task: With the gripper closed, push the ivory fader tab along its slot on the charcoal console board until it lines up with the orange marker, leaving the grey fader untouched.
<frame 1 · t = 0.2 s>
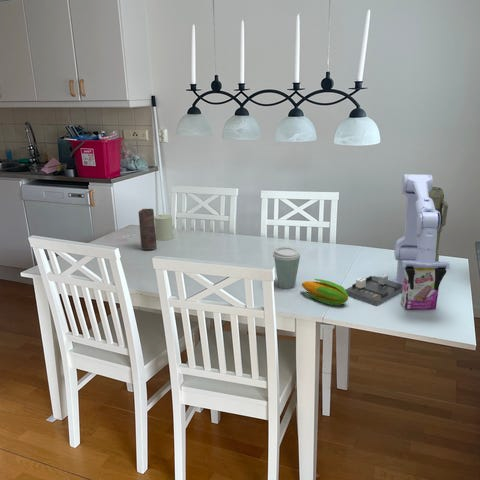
hand: (423, 289, 159), 10 cm above the table, tool pointing down, fingers open, 7 cm apart
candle: (149, 249, 237), on the table
disposable coffee cup: (286, 286, 191), on the table
can: (164, 238, 254), on the table
corn: (322, 300, 178), on the table
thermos: (426, 270, 205), on the table
candy bar box: (418, 307, 171), on the table
fader tab: (360, 282, 182), point 4 cm above the table, slide at 0.0 cm
console: (375, 292, 183), on the table
fader b: (383, 279, 185), point 4 cm above the table, slide at 4.0 cm
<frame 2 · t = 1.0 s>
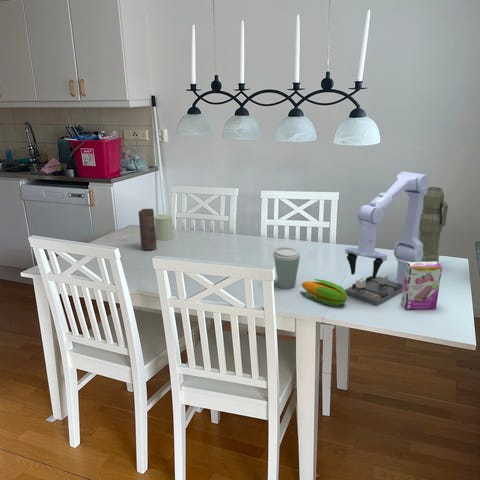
hand: (363, 276, 173), 10 cm above the table, tool pointing down, fingers open, 7 cm apart
nothing on the table moved.
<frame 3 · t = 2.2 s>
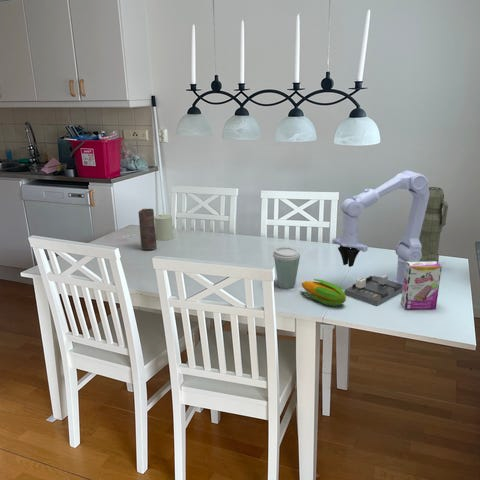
hand: (348, 265, 185), 9 cm above the table, tool pointing down, fingers closed
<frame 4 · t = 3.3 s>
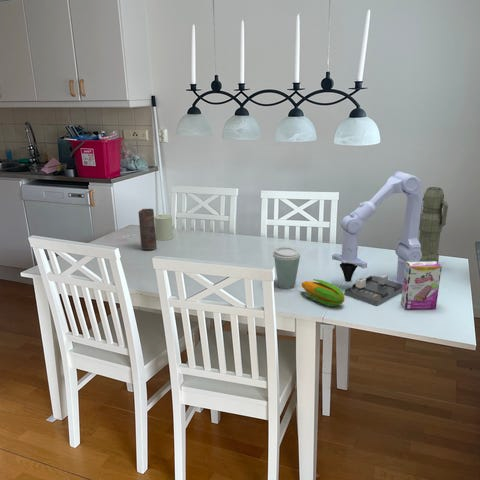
hand: (347, 281, 187), 3 cm above the table, tool pointing down, fingers closed
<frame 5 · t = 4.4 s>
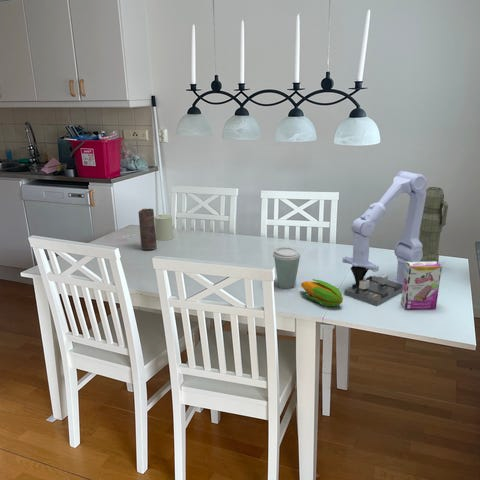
hand: (358, 284, 183), 3 cm above the table, tool pointing down, fingers closed
fader tab: (364, 283, 181), point 4 cm above the table, slide at 1.6 cm, touching gripper
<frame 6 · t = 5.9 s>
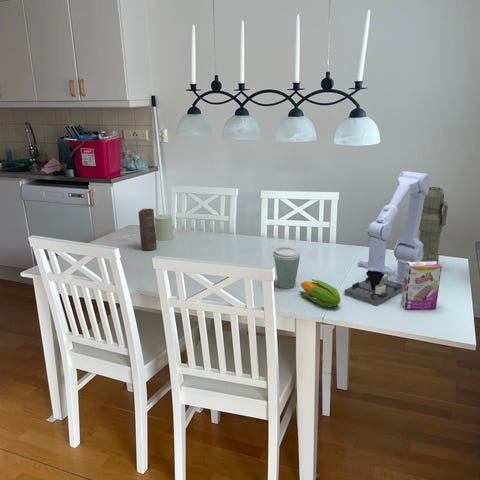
hand: (374, 289, 178), 3 cm above the table, tool pointing down, fingers closed
fader tab: (380, 289, 176), point 4 cm above the table, slide at 8.3 cm, touching gripper
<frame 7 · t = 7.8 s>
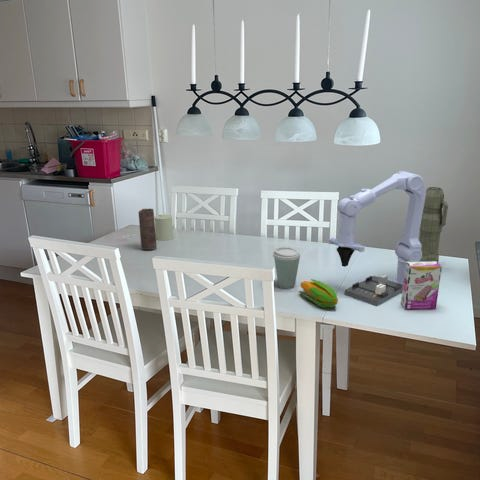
hand: (344, 265, 183), 10 cm above the table, tool pointing down, fingers closed
fader tab: (380, 289, 176), point 4 cm above the table, slide at 8.4 cm
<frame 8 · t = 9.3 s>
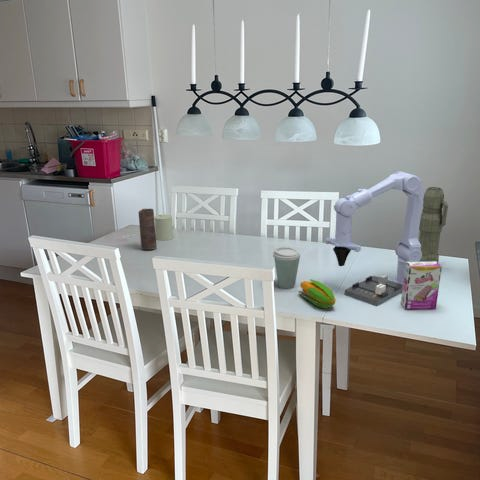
hand: (341, 265, 183), 10 cm above the table, tool pointing down, fingers closed
at the end: fader tab slide at 8.4 cm; fader b slide at 4.0 cm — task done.
